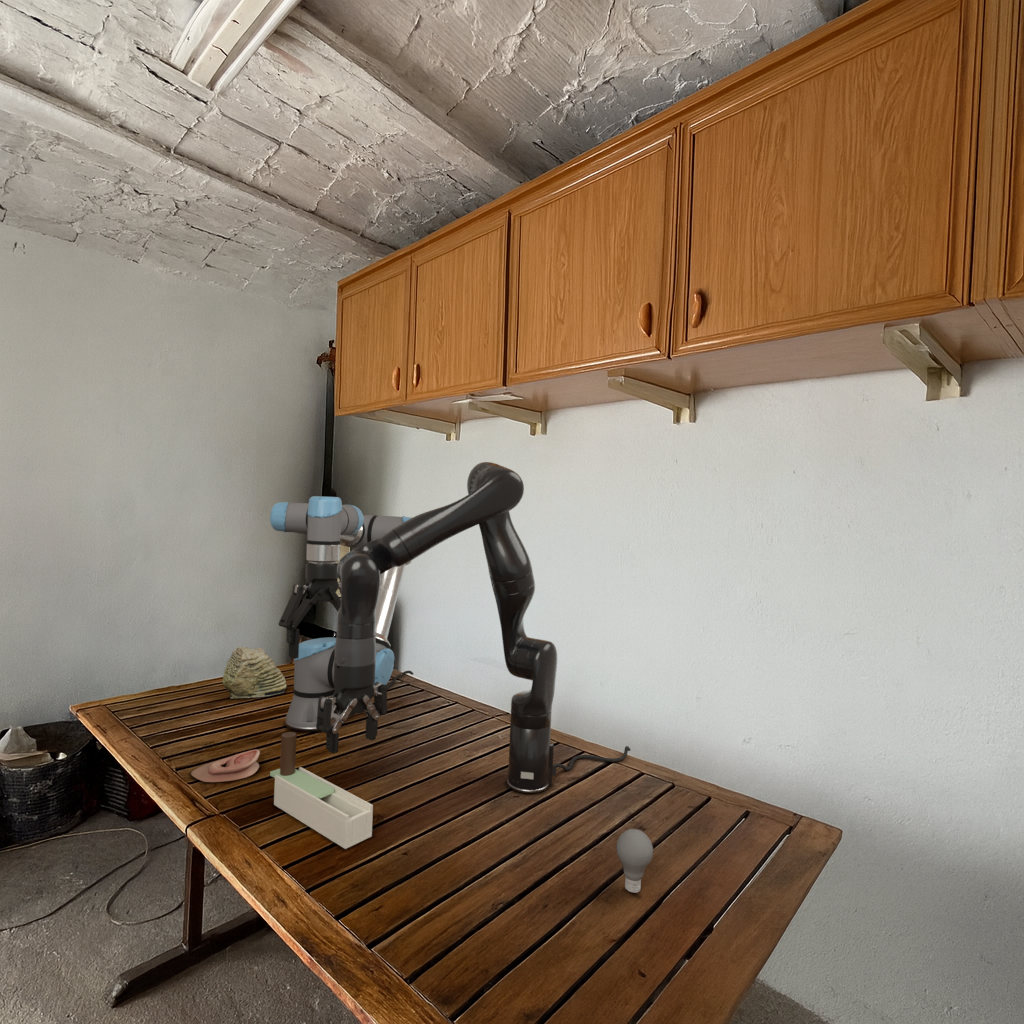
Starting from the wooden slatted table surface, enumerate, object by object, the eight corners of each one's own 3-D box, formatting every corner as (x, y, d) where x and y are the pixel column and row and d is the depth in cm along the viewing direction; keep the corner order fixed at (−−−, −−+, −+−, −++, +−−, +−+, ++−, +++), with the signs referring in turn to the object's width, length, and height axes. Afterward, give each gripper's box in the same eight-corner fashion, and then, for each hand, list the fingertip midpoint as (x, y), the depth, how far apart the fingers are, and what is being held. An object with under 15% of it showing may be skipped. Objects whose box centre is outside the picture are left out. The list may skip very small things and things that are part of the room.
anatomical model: (182, 760, 139) (216, 741, 150) (181, 778, 139) (216, 758, 150) (236, 768, 136) (267, 748, 147) (235, 786, 136) (266, 765, 147)
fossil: (218, 695, 195) (220, 647, 195) (278, 685, 208) (279, 640, 207) (228, 703, 189) (230, 653, 188) (289, 692, 201) (290, 645, 201)
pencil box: (273, 804, 130) (274, 775, 129) (299, 794, 134) (300, 766, 134) (345, 849, 114) (346, 816, 114) (371, 836, 119) (373, 804, 119)
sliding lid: (269, 775, 132) (271, 733, 131) (288, 769, 135) (290, 728, 135) (315, 800, 122) (317, 755, 122) (334, 792, 125) (336, 748, 125)
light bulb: (610, 879, 108) (613, 822, 108) (644, 879, 109) (647, 822, 109) (619, 902, 102) (622, 840, 102) (655, 901, 103) (658, 840, 103)
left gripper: (356, 558, 160) (353, 641, 161) (264, 563, 141) (261, 658, 141) (375, 561, 156) (372, 647, 156) (283, 566, 136) (279, 664, 136)
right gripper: (372, 649, 126) (369, 730, 126) (310, 662, 115) (307, 750, 115) (397, 656, 121) (394, 740, 121) (334, 670, 110) (331, 763, 110)
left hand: (319, 652), depth 149 cm, fingers open, 13 cm apart
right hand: (352, 745), depth 118 cm, fingers open, 8 cm apart
